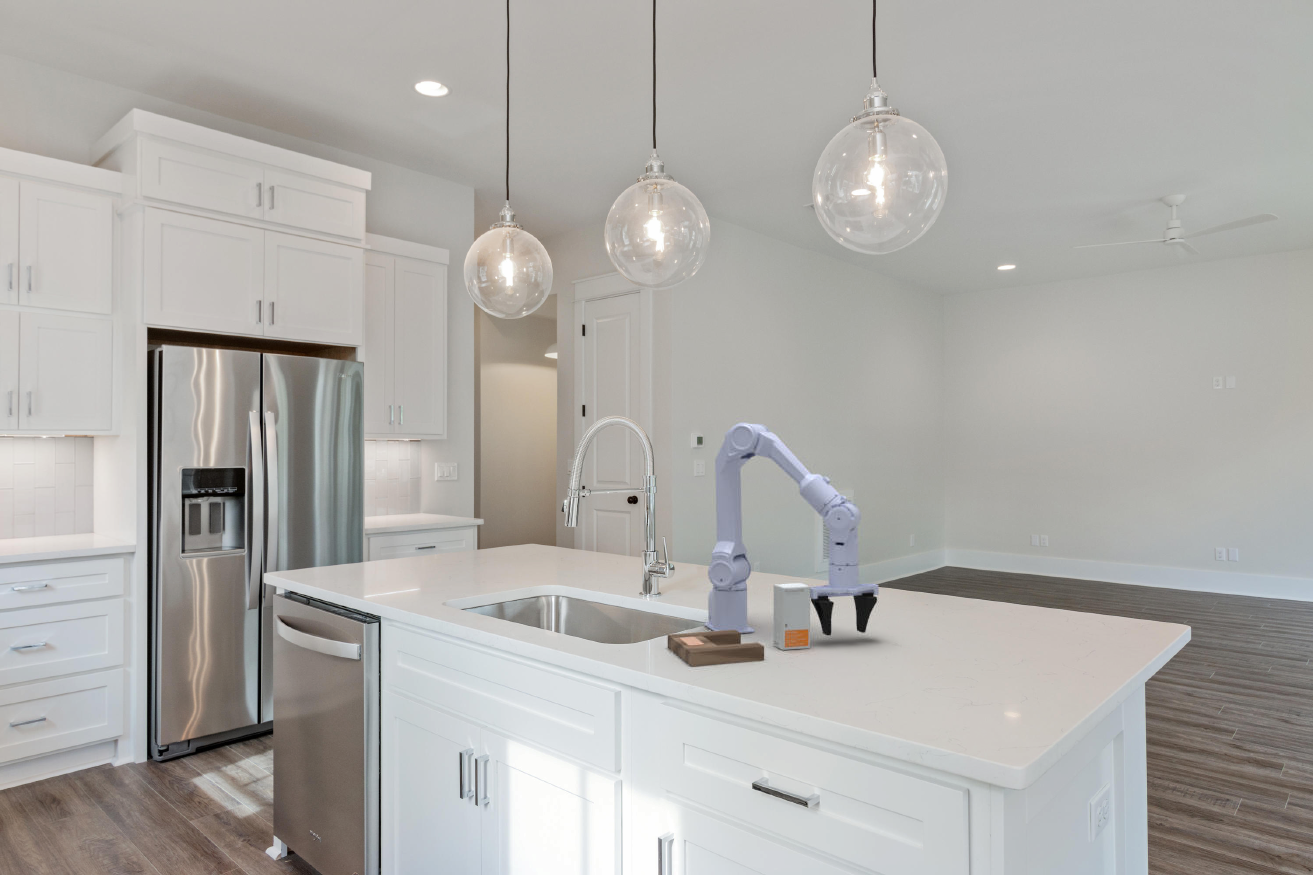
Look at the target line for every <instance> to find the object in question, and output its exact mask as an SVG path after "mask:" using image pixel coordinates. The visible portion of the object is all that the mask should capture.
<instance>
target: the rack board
mask: <svg viewBox="0 0 1313 875" xmlns="http://www.w3.org/2000/svg"><path fill="white" fill-rule="evenodd" d="M667 649H669V650H670V651H671V652H673V654H675V655H676V656H678V657H679V658H680V659H681V660H682V661H684V662H685V663H686V664H687V665H688V666H690V667H692V668H693V667H703V666H713V665H725V664H726V665H727V664H736V663H747V662H759V661H765V646H764V645H763V644H761V643H759V642H747V643H745V642H744V643H742V633H740V632H738V631H737V630H722V631H713V630H711V631H700V632H699V631H697V632H686V633H685V632H683V633H673V634H672V633H671V634H667Z"/></svg>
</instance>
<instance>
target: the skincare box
mask: <svg viewBox="0 0 1313 875" xmlns="http://www.w3.org/2000/svg"><path fill="white" fill-rule="evenodd" d="M810 587H811V586H809V585H807V584H806V583H805V584H804V583H803V582H794V583H782V584H780V583H779V584H777V583H776V584H773V646H774V647H776V648H778V649H779V650H781V651H785V650H789V651H790V650H801V649H803V650H804V649H805V650H807V649H810V648H811V598H810Z"/></svg>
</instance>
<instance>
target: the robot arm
mask: <svg viewBox="0 0 1313 875" xmlns="http://www.w3.org/2000/svg"><path fill="white" fill-rule="evenodd" d="M756 456H758V457H764V458H768V459H771V460H772V461H773V462H774V463H775V464H776V465H777V466H778V467H779V468H780V469H782V470H783V471H784V473H786V474H787V475H788V476H789V477H790V478H791V479H793V481H794V482H795V483H796V484H797V485H798V486H799V487H798V488H799V495H800V496H801V497H802V498H803V499H804V500H805V501H806V502H807V503H808V504H809V505H810V506H811V507H812V508H813V509H814V511H816V512H817V513H818V515H819V516H820V517H823V522H824V525H825V526H826V528H827V529H828V584H825V585H819V586H810V603H812V605H813V608H815V611H816V614H817V617H818V620H819V622H820V626H821V631H822V634H823V635H825V636H828V637H829V636H831V635H832V616H833V609H834V604H835V602H833V601H831V599H830V598H837V597H850V596H853V602H854V607H855V615H856V616H855V618H856V622H855V624H856V631H858V632H859V633H862V634H863V633H864V634H865V633H866V631H867V628H868V627H867V626H868V623H869V619H870V617H871V614H872V612H873V610H874V607H875V606H876V604H877V603H878V597H877V596H878V595H880V594H879V589H880V588H879V585H880V584H876V583H860V582H859V540H858V537H859V536H858V535H859V534H858V528H857V527H858V526H859V525H860V523H861V519H862V517H861V511H860V510H859V508H858V506H857V505H856V504H855V503H853V502H852V501H847V500H848V498H847V496H846V495H844V494H842V495H841V493H839V492H838V491H837V490H836V489H835V488H834V487H833V486H832V485H831V479H830V478H829V477H828V476H822V475H821V474H819V473H816V474H815V473H813V474H812V473H811V472H810V471H809V470H808V468H806V467H805V465H804V464H803V463H802V462H801V461H800V460H799V459H798V458H797V457H796V455H795V454H794V453H793V452H791V450H790V449H789V448H788V447H787V445H785V443H783V441H782V440H781V439H780V438H779V437H778V435H776V434H775V433H774V432H771V431H770V429H769V428H768V427H767V426H766V425H764V424H762V423H748V422H739V423H738V422H737V424H735V425H733V426H732V427H731V428H730V429H729V430H727V431H726V432H725V433H724V440H723V443H722V444H721V446H720V448H719V450H718V453H717V455H716V457H715V462H714V465H715V469H714V470H715V504H716V505H715V506H716V507H715V508H716V511H715V512H716V544H715V547H714V548H713V550H712V552H711V562H710V564H709V566H708V568H707V576H708V579H709V582H710V583H711V584H712V588H711V590H710V591H709V594H708V597H707V598H708V599H707V601H708V602H707V605H708V606H707V608H708V609H707V610H708V611H707V612H708V614H707V615H708V619H707V620H708V621H707V622H704V623H703V625H704V626H705V627H706V628H707V629H710V630H711V631H722V630H737V631H738V632H740V633H741V634H744V633H754V632H755V629H754V628H753V627H750V626H749V625H748V584H747V580H749V578H750V575H751V573H752V564H751V562H750V560H749V558H748V556H747V554H748V553H747V552H748V551H747V548H746V546H745V544H744V542H743V526H742V525H743V524H742V522H743V521H742V520H743V518H742V488H741V487H742V486H741V485H742V484H741V482H742V480H741V479H742V478H741V477H742V476H741V468H742V467H743V466H744V465H746V464H747V463H748V461H750V460H751V458H753V457H756Z"/></svg>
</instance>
